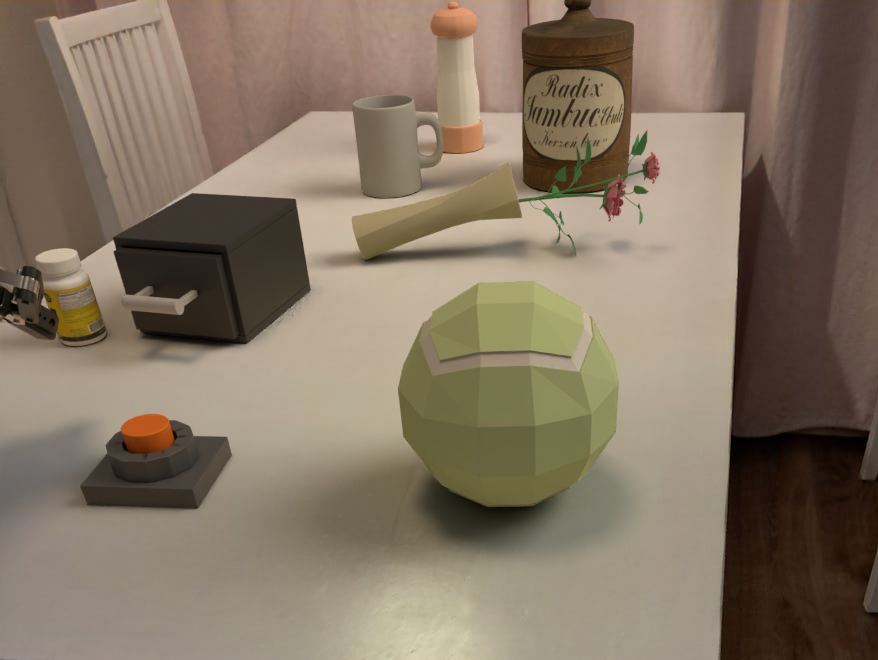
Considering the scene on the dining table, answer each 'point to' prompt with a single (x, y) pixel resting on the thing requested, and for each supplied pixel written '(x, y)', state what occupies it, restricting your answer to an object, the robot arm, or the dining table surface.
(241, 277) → the black cabinet
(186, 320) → the drawer
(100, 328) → the supplement bottle
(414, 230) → the flower vase
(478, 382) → the tennis ball
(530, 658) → the dining table surface
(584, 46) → the wooden container
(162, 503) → the control block
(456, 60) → the pepper shaker
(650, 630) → the dining table surface
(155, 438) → the button
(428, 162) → the mug
